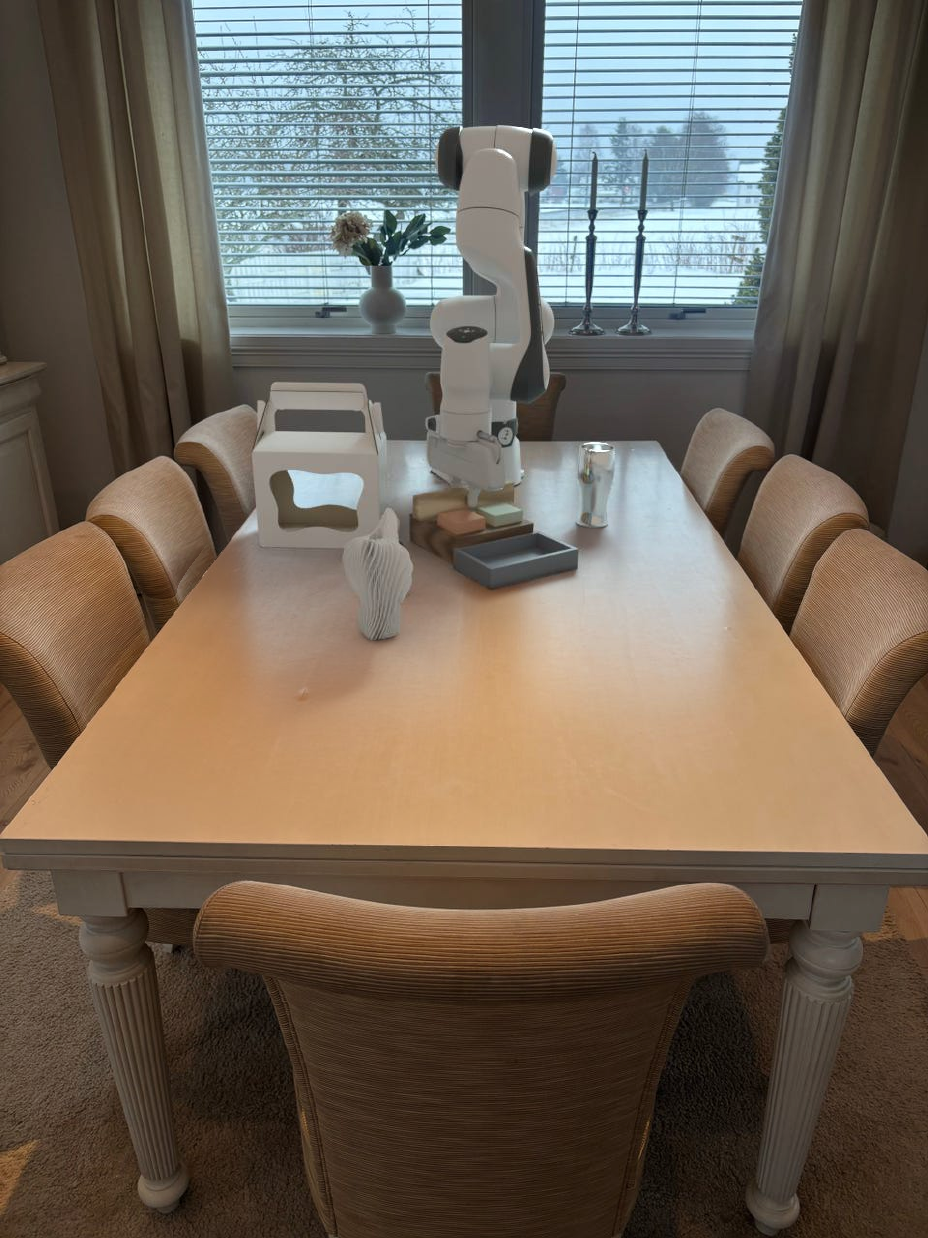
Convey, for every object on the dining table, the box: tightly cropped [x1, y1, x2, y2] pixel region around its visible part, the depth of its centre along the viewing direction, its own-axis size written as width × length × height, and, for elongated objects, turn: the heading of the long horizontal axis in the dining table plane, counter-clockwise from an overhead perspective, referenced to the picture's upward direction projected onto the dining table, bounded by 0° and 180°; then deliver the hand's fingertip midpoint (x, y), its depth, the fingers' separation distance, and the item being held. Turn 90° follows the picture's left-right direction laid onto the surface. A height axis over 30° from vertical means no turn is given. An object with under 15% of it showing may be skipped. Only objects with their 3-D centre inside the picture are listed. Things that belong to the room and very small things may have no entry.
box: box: [452, 530, 580, 591], centre depth 157 cm, size 11×18×4 cm, turn 123°
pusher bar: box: [412, 479, 515, 521], centre depth 166 cm, size 2×20×4 cm, turn 123°
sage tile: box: [475, 502, 524, 527], centre depth 165 cm, size 6×6×2 cm
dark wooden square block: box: [408, 511, 535, 565], centre depth 167 cm, size 16×16×5 cm
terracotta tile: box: [437, 509, 485, 535], centre depth 161 cm, size 6×6×2 cm
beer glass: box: [575, 442, 616, 529], centre depth 177 cm, size 7×7×15 cm
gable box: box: [251, 381, 389, 550], centre depth 166 cm, size 22×13×28 cm, turn 88°
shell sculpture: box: [342, 507, 414, 641], centre depth 129 cm, size 8×8×18 cm
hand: (464, 503), depth 166 cm, fingers closed on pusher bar, 2 cm apart
